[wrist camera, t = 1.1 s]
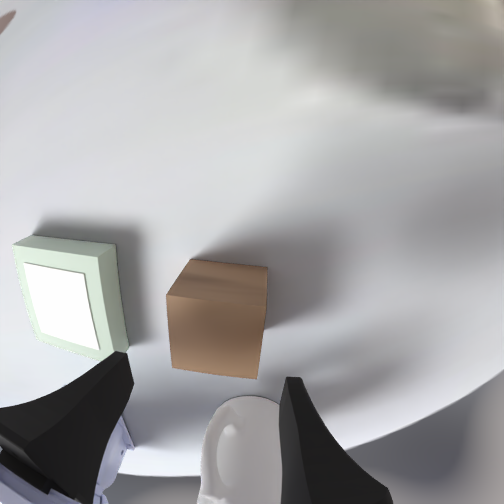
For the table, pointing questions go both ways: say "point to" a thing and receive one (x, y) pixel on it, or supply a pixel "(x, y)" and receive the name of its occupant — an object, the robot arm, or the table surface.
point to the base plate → (72, 294)
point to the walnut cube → (217, 318)
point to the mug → (242, 454)
